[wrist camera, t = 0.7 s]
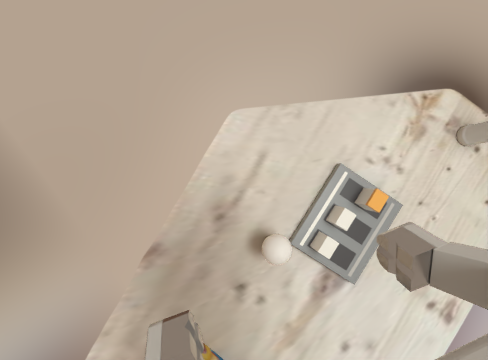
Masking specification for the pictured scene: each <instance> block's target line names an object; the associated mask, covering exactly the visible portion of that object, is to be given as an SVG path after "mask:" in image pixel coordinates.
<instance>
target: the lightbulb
mask: <svg viewBox="0 0 488 360" xmlns="http://www.w3.org/2000/svg"><path fill="white" fill-rule="evenodd" d="M262 254H263V256H264V258H265V259H266V261H267V262H269V263H271V264H273V265H282V264H284V263H286V262H287V261H288V260H289V259H290V257H291V254H292V246H291V243H290V241H289V240H288V239H287V238H286V237H285V236H283V235H280V234H273V235H270V236H268V237H266V239H265V240H264V242H263V245H262Z"/></svg>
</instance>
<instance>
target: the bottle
mask: <svg viewBox="0 0 488 360" xmlns="http://www.w3.org/2000/svg"><path fill="white" fill-rule="evenodd" d="M457 140H458V142H459V143H460V144H462V145H465V146H471V145H476V144H478V143H486V142H488V121H487V122H483V123H479V124H475V125H474V124H471V125H466V126H464V127H462V128H460V129H459V130H458V132H457Z"/></svg>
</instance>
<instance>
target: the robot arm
mask: <svg viewBox="0 0 488 360" xmlns="http://www.w3.org/2000/svg"><path fill="white" fill-rule="evenodd" d="M376 242H377V243H378V244H379V247H378V249H377V258H378V260H379V262H380V264H381V265H382V266H383V268H384V269H386V270H387V271H388V272H390V273H393V274H396V278H397V280H398V281H399V282H400V283H401V284H402V285H403V286H405V287H406V288H407V289H408V290H409V291H410V292H411V291H414V290H416V289H419V288H421V287H424V286H426V285H429V284H430V286H432V287H435V288H437V289H439V290H442V291H444V292H447V293H449V294H451V295H454V296H456V297H459V298H461V299H463V300H466V301H468V302H471V303H473V304H475V305H478V306H480V307H483V308H485V309H487V310H488V250H487V249H482V248H477V247H473V246H468V245H463V244H458V243H454V242H449V243H447V242H445V241H443V240H442V239H440V238H438V237H436V236H435V235H433V234H431V233H430V232H428V231H426V230H425V229H423V228H421V227H419V226H418V225H416V224H414V223H412V222H408V223H405V224H403V225H401V226H398V227H395V228H393V229H390V230H388V231H386V232H383V233H381V234H378V236H377V237H376ZM203 351H204V345H203V339H202V335H201V331H200V328H199V326H198V324H197V323H195V322H194V316H193V314H192V312H191V310H187V311H185V312H182V313H179V314H177V315H174V316H171V317H168V318H166V319H163V320H161V321H158V322H156V323H153V324H150V326H149V328H148V334H147V344H146V353H145V360H204V358H203V356H202V353H203ZM435 360H488V334H486V335H484V336H482V337H480V338H478V339H476V340H474V341H472V342H470V343H468V344H466V345H464V346H462V347H460V348H457V349H455V350H453V351H451V352H449V353H447V354H445V355H443V356H441V357H439V358H437V359H435Z"/></svg>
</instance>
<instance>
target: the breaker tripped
mask: <svg viewBox="0 0 488 360" xmlns="http://www.w3.org/2000/svg"><path fill="white" fill-rule="evenodd" d="M388 198H389V196H388V195H386V194H385V193H383V192H382V191H380V190H379V189H377V188H375V189H371V188H363V190H362V191H361V193H360V194H359V196H358V198H357V199H356V201H355V203H356V204H357V205H359V206H360V207H362V208H363V209H365V210H370V211H374V212H378V213H379V212H380V211H381V209H382V208H383V206H384V204H385V203H386V201H387V199H388Z"/></svg>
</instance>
